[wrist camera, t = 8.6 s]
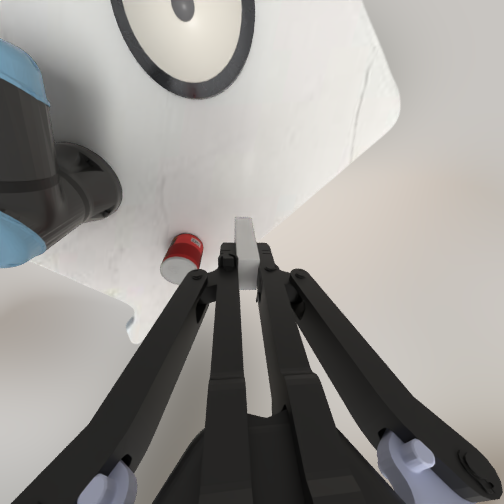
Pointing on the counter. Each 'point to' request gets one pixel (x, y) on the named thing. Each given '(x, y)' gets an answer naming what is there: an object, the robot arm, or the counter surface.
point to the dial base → (186, 88)
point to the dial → (186, 34)
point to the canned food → (181, 258)
